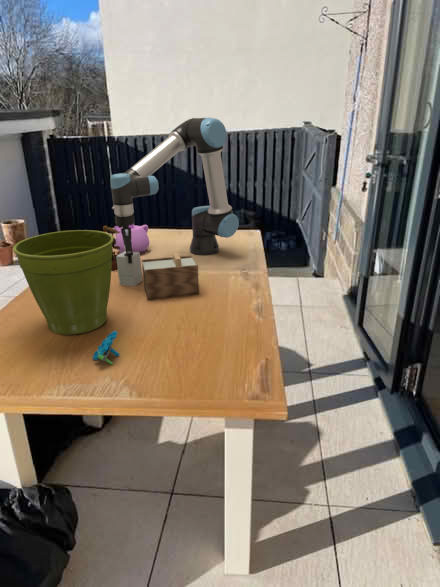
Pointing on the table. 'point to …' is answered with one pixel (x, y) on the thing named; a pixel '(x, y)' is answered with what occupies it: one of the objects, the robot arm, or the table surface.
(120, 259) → the supplement box
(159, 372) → the table surface
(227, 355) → the table surface
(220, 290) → the table surface
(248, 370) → the table surface
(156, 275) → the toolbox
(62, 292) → the plant pot
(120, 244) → the pink piggy bank
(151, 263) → the lid
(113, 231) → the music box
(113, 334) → the blue angular piece
